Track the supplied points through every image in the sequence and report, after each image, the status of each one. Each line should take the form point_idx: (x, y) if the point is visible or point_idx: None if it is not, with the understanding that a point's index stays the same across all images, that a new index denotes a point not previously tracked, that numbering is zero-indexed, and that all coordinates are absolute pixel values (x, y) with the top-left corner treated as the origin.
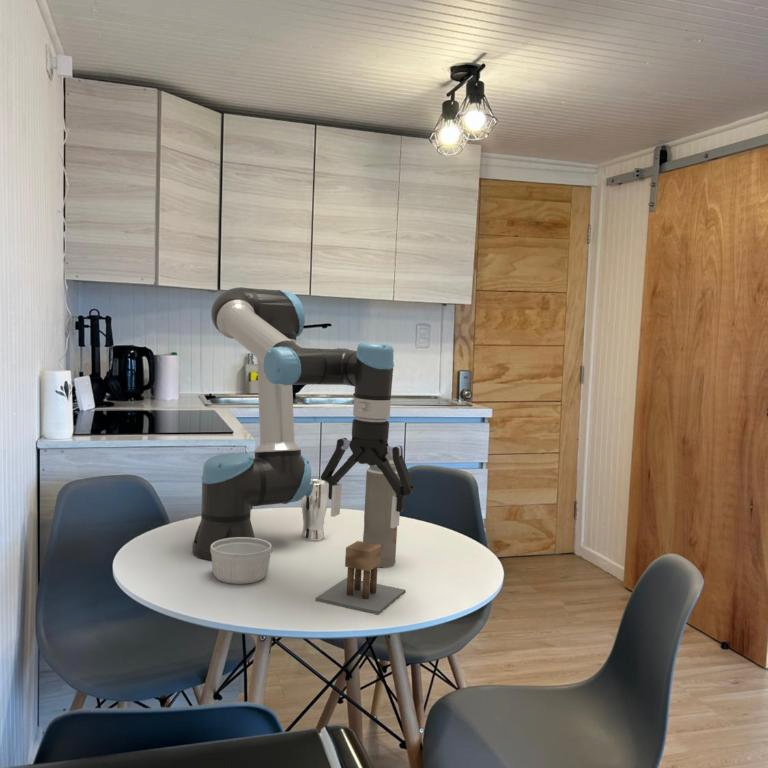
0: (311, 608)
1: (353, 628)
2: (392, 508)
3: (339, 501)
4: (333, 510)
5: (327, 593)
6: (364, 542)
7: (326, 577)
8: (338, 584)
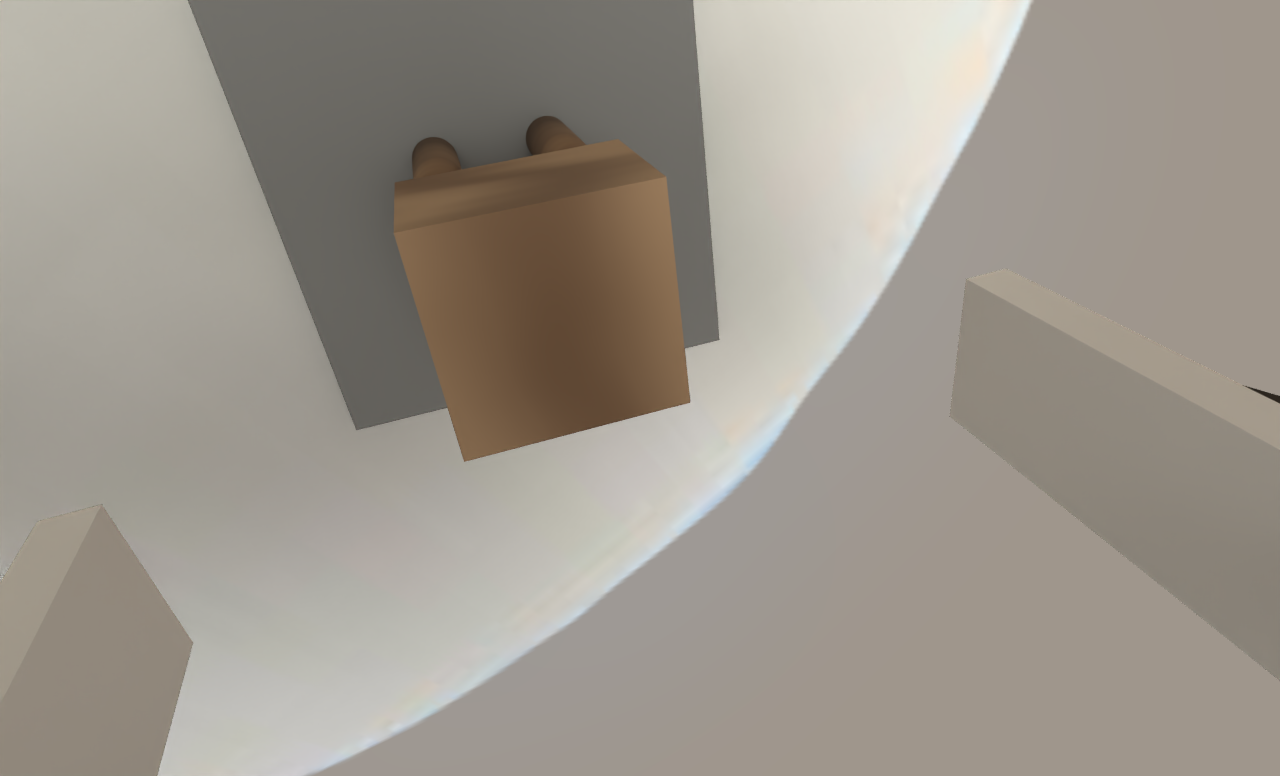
0: (422, 494)
1: (698, 500)
2: (1145, 559)
3: (35, 705)
4: (160, 723)
5: (355, 345)
6: (485, 227)
7: (21, 54)
8: (275, 176)
